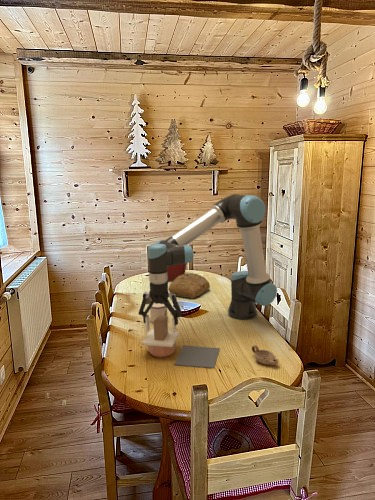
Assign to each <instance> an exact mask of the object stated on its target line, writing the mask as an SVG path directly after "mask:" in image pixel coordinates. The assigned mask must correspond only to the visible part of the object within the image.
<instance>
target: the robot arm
mask: <svg viewBox="0 0 375 500" xmlns="http://www.w3.org/2000/svg"><path fill="white" fill-rule="evenodd" d="M265 215H266V205H265V202H264V200H262V199H261V198H260V197H258V196H255V195H251V194H240V193H239V194H234V193H233V194H230V195H227V196H226V197H224V198H222V199H220V200H219V201H217V202H215V203H213V205H211V206H210V209H209V210H208V211H206V212H204V213H203V214H202V215H200V216H199V217H198V218H196V219H194V220H193V221H192V222H190V223H189V224H187V225H185V226H184V227H182V228H181V229H179V230H178V231H176V232H175V233H174V234H172V235H171V236H169V237H168V238H166V239H163V240H162V239H160V240H158V241H156V243H154V244H150V245H148V248H147V259H148V260H147V262H148V277H149V291H150V293H149V292H147V291H144V293H142V301H141V304H140V307H139V311H138V315H139V316H142V318H143V321H142V322H143V324H145V332H149V331H150V330H151V329H150V328H151V327H150V326H151V325H150V314H148V313H149V312H150V308H151V307H152V305H153V304H154V303H155V304H158V303H160V304H164V305H165V306H166V307H167V311H169V313H170V314H171V316H172V318H171V321H172V330H173V333H175V332H176V331H177V326H178V324H179V318H181V317H182V316H183V312H182V309H181V307H180V305H179V302H178V300H177V295H176V294H175V293H174V294H171V293H170V292H169V290H168V289H169V281H167V280H168V276H167V266H173V265H179V264H186V263H187V264H189V263H192V262H193V260H194V257H195V256H194V255H195V253H194V250H193V248H192V247H191V246H190V245H189V244H190V243H193V241H195V240H197V239H198V238H199V237H201V236H202V235H204V234H205V233H207V232H208V231H209V230H211V229H212V228H214V227H216V225H218V224H219V223H221V224H222V223H225V222H226V221H229V220H235V223H236V228H238V229H239V230H240V233H241V239H242V245H243V246H242V247H243V251H244V257H245V263H246V270H241V271H239V270H238V271H236V272H235V271H234V272H232V274H231V278H230V283H231V286H230V289H231V292H230V293H231V299H230V300H231V301H230V303H229V305H228V309H227V311H228V312H227V315H228V316H230V317H231V318H233V319H236V320H251V319H253V318H255V317H257V315H258V309H257V306H256V305H259V306H264V307H266V306H269V305H271V304H272V303H273V302H274V301H275V299H276V297H277V294H278V288H277V286H276V285H275V284H274V283H272V280H271V276H270V274H269V273H267V268H266V261H265V255H264V250H263V242H262V236H261V230H260V226H261V225H262V224H263V220H264V218H265ZM149 296H150V298H151V299H152V301H151V302H150V303H148V305H147V308H146V309H145V306H146V301H147V298H148V297H149ZM169 298H170V300H171V301H170V300H169ZM171 302H172V303H171Z"/></svg>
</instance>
